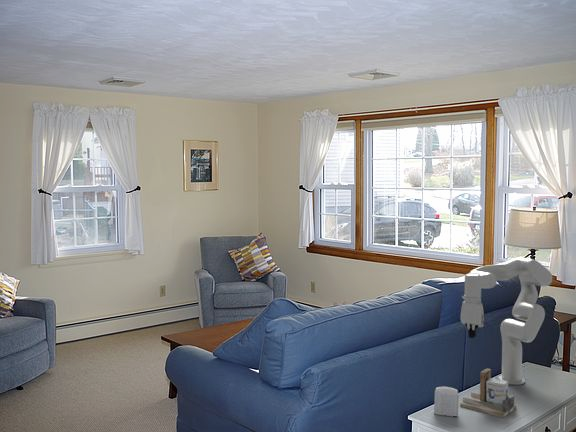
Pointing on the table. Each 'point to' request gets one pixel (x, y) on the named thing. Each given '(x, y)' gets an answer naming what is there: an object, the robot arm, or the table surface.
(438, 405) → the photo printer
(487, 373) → the end bracket
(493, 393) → the ink box
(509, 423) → the table surface
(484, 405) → the rail board
